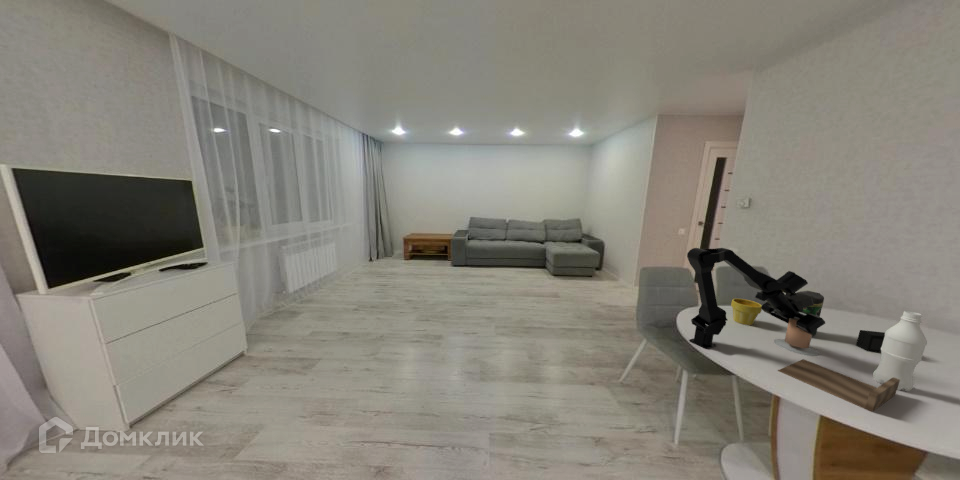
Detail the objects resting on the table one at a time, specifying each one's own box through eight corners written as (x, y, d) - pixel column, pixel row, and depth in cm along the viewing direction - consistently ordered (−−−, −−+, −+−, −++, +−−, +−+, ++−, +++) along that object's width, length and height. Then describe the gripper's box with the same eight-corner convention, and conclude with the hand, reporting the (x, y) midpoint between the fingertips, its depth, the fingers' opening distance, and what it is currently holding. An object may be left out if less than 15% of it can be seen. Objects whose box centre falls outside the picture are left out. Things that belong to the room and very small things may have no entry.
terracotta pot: (813, 350, 104) (819, 324, 102) (789, 345, 107) (795, 320, 105) (803, 342, 110) (809, 317, 108) (781, 337, 113) (786, 313, 111)
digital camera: (869, 353, 107) (874, 336, 106) (855, 345, 113) (859, 329, 111) (906, 357, 105) (911, 340, 104) (889, 349, 110) (894, 333, 109)
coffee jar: (792, 326, 128) (801, 287, 125) (818, 334, 121) (828, 293, 118) (783, 330, 124) (791, 290, 121) (809, 338, 117) (819, 297, 114)
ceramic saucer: (810, 361, 101) (811, 358, 101) (766, 344, 112) (767, 342, 112) (825, 354, 106) (826, 352, 105) (782, 339, 117) (782, 336, 116)
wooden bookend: (871, 415, 77) (876, 395, 76) (776, 373, 94) (780, 357, 93) (894, 397, 83) (900, 379, 82) (802, 361, 101) (806, 346, 100)
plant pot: (764, 328, 126) (768, 308, 124) (738, 325, 128) (741, 305, 126) (747, 318, 136) (751, 299, 134) (723, 316, 138) (726, 297, 136)
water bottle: (864, 379, 91) (884, 308, 87) (883, 379, 92) (904, 307, 88) (898, 395, 84) (922, 318, 80) (918, 394, 85) (943, 318, 81)
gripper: (825, 296, 96) (853, 328, 97) (774, 279, 114) (798, 306, 115) (795, 316, 98) (823, 347, 99) (750, 296, 116) (773, 323, 117)
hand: (803, 329), depth 107 cm, fingers closed on terracotta pot, 6 cm apart
